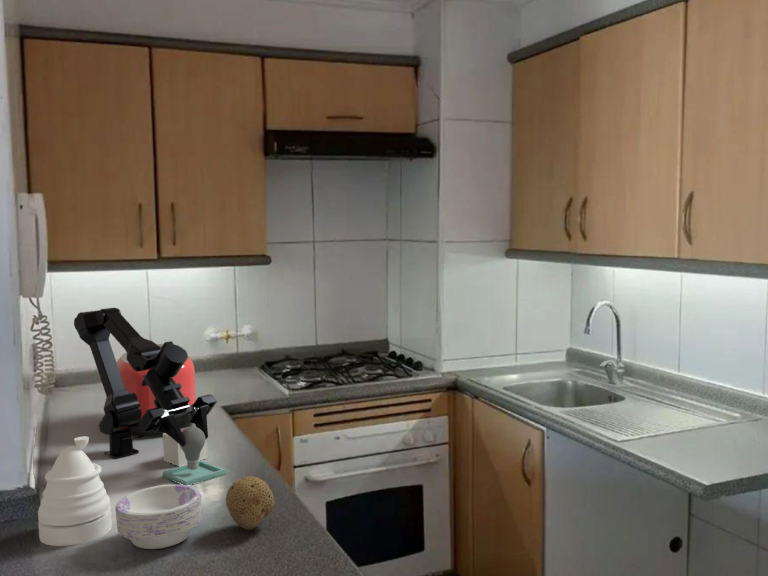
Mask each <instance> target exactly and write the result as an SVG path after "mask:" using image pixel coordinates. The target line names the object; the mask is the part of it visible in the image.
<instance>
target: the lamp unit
mask: <svg viewBox="0 0 768 576" xmlns="http://www.w3.org/2000/svg"><path fill="white" fill-rule="evenodd" d="M186 428H189V427H186ZM186 428H182V429H180V430H181V432H183V431H184V430H185V429H186ZM207 440H208V438H207V439H206V440H205V444H204V446H203V448H202V450H201V452H200V457H199V461H200V460H201V461H204V460H203V459H205V460H208V459H207V458H208V443H207V442H208V441H207ZM162 445H163V447H162V448H163V459H164V460H163V461H164V462H165V461H166V462H165V463H168V462H169V463H168V464H170V463H172V464H171V465H173V464H175V465H177V466H176V467H178V466H181V465H186V464H187V459H186V457H185V453H184V452H183V450H182V449H181V447H180V444H179V443H178V442H176V441H175V440H174V439H173V438H171V437H170V436H169V435H167V434H166V433H163V435H162ZM175 465H174V466H175Z"/></svg>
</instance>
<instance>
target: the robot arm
mask: <svg viewBox="0 0 768 576" xmlns="http://www.w3.org/2000/svg"><path fill="white" fill-rule="evenodd" d="M73 325H74V328H75V330H76V332H77V334H78V336H79V338H80V339H81V340H82V341H83V342H84V343H86V344H87V345H88V346H89V348H90V352H91V354H92V357H93V360H94V363H95V366H96V369H97V372H98V375H99V378H100V381H101V385H102V387H103V389H104V393H105V396H106V398H105V403H104V405H103V412H104V416H103V417H102V419H101V421H100V422H99V424H98V427H99V432H100V433H101V434H103V435H107V436H108V444H109V445H108V446H109V450H106V451H104V455H106V456H109V457H110V458H112V459H119V458H123V457H126V456H130V455H133V454H138V453H140V451H139V450H138V449H136V448H134V444H133V436H132V429H135V428H139V427H140V429H141V431H142V433H146V432H150V431H153V430H154V432H159V433H163V432H164V433H166V434H167V435H169V436H170V437H171V438H173V439H174V440H175V441H176V442H178V443H179V444H180V445H181V446H185V445H186V442H185V439H184V436H183V434H182V432H181V430H180V427H179V425H178V423H177V418H178V416H182V415H186V414H190V415H191V417H192V419H191V420H190V422H191V423H193V424H194V425H195V427H197V428H199V429H200V430H202V431H203V433H204V435H205V440H206V439H207V440H208V438H209V432H208V431H209V429H208V418H207V417H208V416H209V414H210V413H211V411H212V410H213V408H214V407H215V406H216V404H217V403H218V401H217V400H216V397H215V396H214V395H213V394H210V393H209V394H206V395H202V396H201V395H200V396H198V397H196V401H195V402H194V404H191V405H188V402H189V401H190V399H189V398H188V397H185V398H184V396H183V394H182V393H181V391H180V389H181V387H182V386H181V384H180V383H179V384H176V383H175V381H174V379H173V378H172V377H174V376H176V375H177V374H178V372H179V371H180V369H181V368H182V366H183V365H184V363H185V361H186V360H187V358H188V356H189V354H188V352H187V350H186V349H184V348H183V347H181V346H180V345H178V344H175V343H173V341H172V340H171V341H165V342H164V343H162V344H163V346H162V349H161V348H160V347H159V346H158V345H157V344H158V343H155V342H154V341H153V340H151V339H150V340H149V339H148V338H147V339H146V338H144V337H143V336H141V334H140V333H139V332H138V331H137V330H136V329H135V328H134V327H133V325H131V324H130V322H129V321H128V320H127V319H126V318H125V316H123V315H122V312H121V310H120V309H119V308H118V307H117V308H116V307H108V308H100V309H99V310H89V311H81V312H78V313H77V314H76V316H75V318H74V319H73ZM110 335H112V337H113V338H114V339H115V340H116V342H118V343H119V344H120V345H121V347H122V348H123V349H124V350H125V353H126V352H127V361H128V362H129V364H130V365H131V367H132V368H133V369H134V370H135V371H137V372H138V371H144V370H149V369H150V370H149V371H148V372H147V374H146V375H143V381H142V386H149V388H150V389H151V391H152V393H153V395H154V396H155V398H156V399H155V400H154V405H155V406H156V408H153V409H149V410H147V411H146V412H145V414H144V415H143V417H142V418H141V415H142V411H141V408H140V407H141V405H140V404H139V402H138V399H137V395H136V394H135V393H129V392H128V391H127V390H126V388H125V386H124V383H123V380H122V377H121V374H120V371H119V368H118V365H117V359H116V356H115V353H114V351H113V348H112V345H111V342H110V340H109V339H110Z"/></svg>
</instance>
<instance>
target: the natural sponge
mask: <svg viewBox="0 0 768 576" xmlns="http://www.w3.org/2000/svg"><path fill="white" fill-rule="evenodd" d="M274 497H275V496H274V494H273V491H272V489H271V488H270V485H268V483H267V482H266V481H264V480H263V479H261V478H259V477H256V476H252V475H249V476H247V475H246V476H244V477H241V478H239V479H237V480H236V481H234V482H233V483H232V484H231V486H229V488H228V490H227V491H226V496H225V504H226V508H227V510H228V512H229V515H230V516H231V518H232V520H233V521H234V523H236V524H237V525H238V526H239V527H241V528H242V529H244V530H247V531H251V530H253V529H255V528H256V527H257V526H258V525H259V524H260V523H261V522H263V520H264V519H265V518H267V517H268V516H269V515H270V514H271V513H272V512H273V510H274V508H275V498H274Z"/></svg>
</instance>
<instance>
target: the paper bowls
mask: <svg viewBox="0 0 768 576" xmlns="http://www.w3.org/2000/svg"><path fill="white" fill-rule="evenodd" d="M115 519H116V527H117V528H116V529H117V532H118V534H119V536H120V535H121V536H120V537H123V538H125V539H129V540H130V542H131V543H132V544H133V545H134V546H136V547H137V548H140V549H145V550H156V549H157V550H158V549H164V548H169V547H172V546H175V545H177V544H180V543H181V542H183V541H185V540H186V539H187V538H188V537H189V536H190V534H191V532H192V529H193V528H195V527H196V526H198V525H199V524H200V522H201V521H202V519H203V503H202V493H201V491H200V490H199V489H197V488H196V487H194V486H193V485H191V486H187V485H181V484H164V485H161V484H160V485H156V486H151V487H146V488H143V489H139V490H136V491H133V492H131V493H129V494H127V495H125V496H124V497H122V498H121V499H119V501H118V502H117V503H116V505H115Z"/></svg>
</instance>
